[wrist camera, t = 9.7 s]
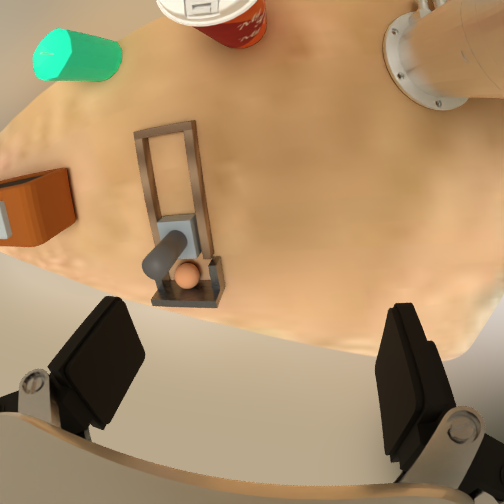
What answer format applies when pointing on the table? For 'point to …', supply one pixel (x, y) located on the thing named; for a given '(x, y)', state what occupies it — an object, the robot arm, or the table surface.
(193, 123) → the frame
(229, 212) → the table surface
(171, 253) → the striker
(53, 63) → the candle
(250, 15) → the coffee cup
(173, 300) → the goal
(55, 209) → the alarm clock
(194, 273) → the ball
